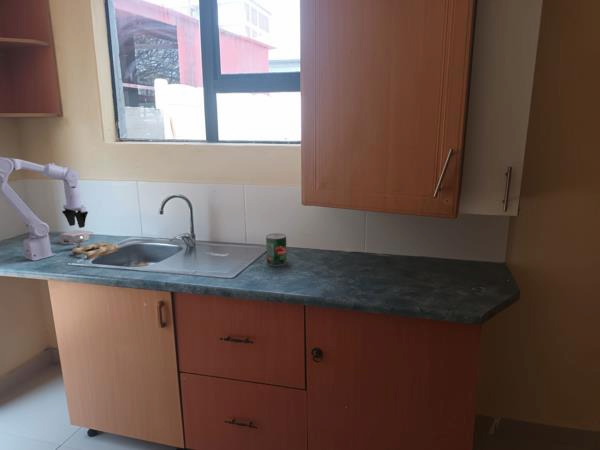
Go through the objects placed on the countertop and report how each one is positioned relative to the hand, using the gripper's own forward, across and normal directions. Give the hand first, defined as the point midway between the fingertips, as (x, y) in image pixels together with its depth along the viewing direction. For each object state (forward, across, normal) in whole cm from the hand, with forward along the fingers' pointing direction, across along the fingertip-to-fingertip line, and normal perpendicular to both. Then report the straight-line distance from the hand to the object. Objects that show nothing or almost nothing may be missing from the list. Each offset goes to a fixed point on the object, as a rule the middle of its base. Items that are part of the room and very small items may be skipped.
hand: (77, 226), depth 197 cm
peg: (+10, 0, 0) cm, 10 cm away
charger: (+11, +15, -9) cm, 20 cm away
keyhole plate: (+10, -12, 0) cm, 16 cm away
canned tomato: (+11, -89, -29) cm, 94 cm away
